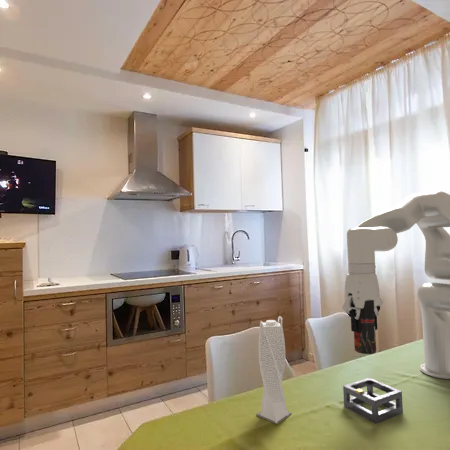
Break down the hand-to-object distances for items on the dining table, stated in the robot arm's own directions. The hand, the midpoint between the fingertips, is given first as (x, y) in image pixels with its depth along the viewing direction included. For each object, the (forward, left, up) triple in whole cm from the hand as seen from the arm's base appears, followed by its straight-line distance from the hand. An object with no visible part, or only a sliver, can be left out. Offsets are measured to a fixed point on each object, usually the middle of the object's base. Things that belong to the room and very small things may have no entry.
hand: (364, 329), depth 100 cm
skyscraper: (+27, -8, -22) cm, 36 cm away
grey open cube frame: (+1, +3, -22) cm, 22 cm away
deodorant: (0, 0, -6) cm, 6 cm away
